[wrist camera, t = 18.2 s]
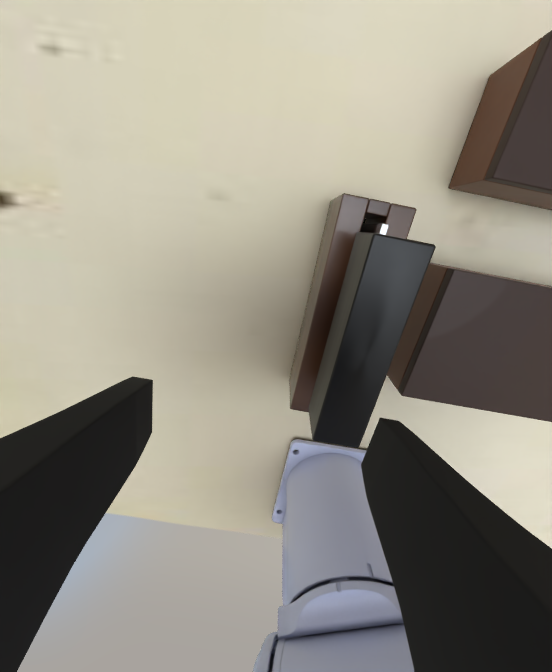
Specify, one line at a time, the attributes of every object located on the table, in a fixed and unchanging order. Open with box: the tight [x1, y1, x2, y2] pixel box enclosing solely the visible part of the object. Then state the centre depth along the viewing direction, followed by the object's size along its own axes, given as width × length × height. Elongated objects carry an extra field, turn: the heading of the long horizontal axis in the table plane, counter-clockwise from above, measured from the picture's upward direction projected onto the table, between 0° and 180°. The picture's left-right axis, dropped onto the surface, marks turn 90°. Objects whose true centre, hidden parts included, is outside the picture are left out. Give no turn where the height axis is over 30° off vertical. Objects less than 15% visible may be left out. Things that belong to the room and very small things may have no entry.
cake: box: [387, 263, 552, 422], centre depth 17 cm, size 8×11×4 cm
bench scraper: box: [308, 223, 435, 448], centre depth 14 cm, size 10×2×8 cm, turn 169°
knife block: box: [289, 193, 416, 412], centre depth 16 cm, size 12×4×4 cm, turn 170°
